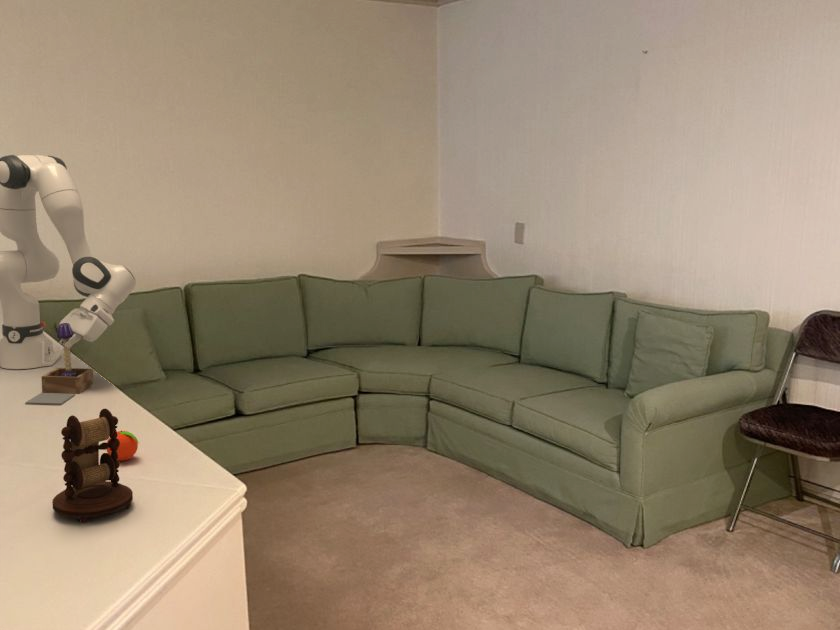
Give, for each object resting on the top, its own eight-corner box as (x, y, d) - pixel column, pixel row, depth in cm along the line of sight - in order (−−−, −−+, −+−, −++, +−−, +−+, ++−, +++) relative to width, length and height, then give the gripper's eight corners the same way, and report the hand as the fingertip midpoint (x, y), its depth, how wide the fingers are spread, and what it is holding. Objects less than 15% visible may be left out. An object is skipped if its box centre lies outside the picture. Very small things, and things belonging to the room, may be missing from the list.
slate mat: (40, 394, 233) (40, 393, 232) (75, 395, 233) (75, 393, 233) (25, 404, 223) (25, 402, 223) (60, 405, 223) (60, 403, 223)
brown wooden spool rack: (108, 488, 167) (105, 397, 163) (147, 508, 158) (144, 412, 154) (39, 509, 155) (34, 412, 152) (76, 532, 146) (71, 429, 143)
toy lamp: (72, 379, 237) (68, 325, 234) (56, 378, 237) (53, 325, 234) (79, 375, 242) (75, 322, 239) (64, 375, 242) (60, 322, 239)
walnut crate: (57, 383, 245) (57, 367, 244) (93, 384, 246) (92, 368, 245) (42, 392, 234) (41, 376, 234) (79, 393, 235) (78, 377, 234)
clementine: (148, 457, 185) (147, 428, 184) (130, 467, 179) (129, 437, 177) (119, 453, 187) (118, 424, 186) (100, 463, 181) (99, 433, 179)
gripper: (73, 299, 248) (42, 333, 243) (101, 309, 234) (69, 345, 229) (88, 311, 252) (58, 345, 247) (116, 322, 238) (85, 358, 233)
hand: (63, 345), depth 238 cm, fingers closed on toy lamp
